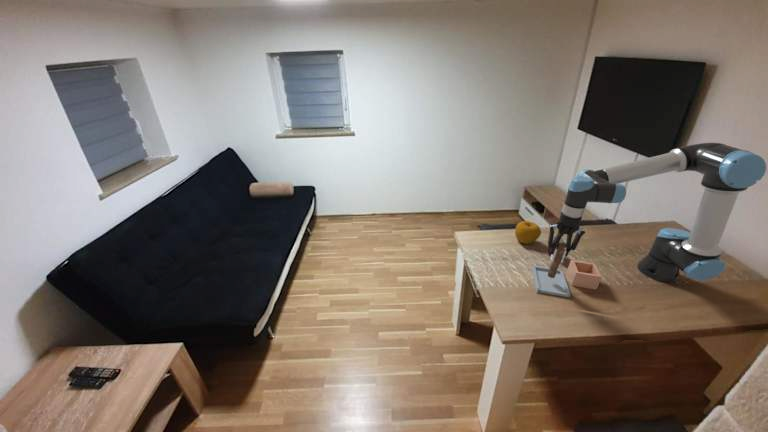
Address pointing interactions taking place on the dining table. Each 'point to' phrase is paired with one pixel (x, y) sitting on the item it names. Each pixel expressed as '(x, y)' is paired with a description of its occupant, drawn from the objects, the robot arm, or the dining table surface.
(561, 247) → the dowel
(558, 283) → the tray
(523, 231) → the apple
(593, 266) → the pink open square box
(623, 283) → the dining table surface
